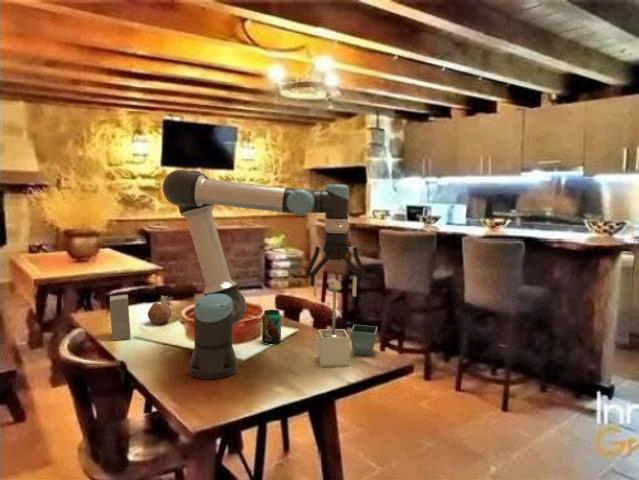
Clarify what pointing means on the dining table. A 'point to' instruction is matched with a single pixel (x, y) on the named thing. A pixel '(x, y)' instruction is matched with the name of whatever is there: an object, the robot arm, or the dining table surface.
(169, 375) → the dining table surface
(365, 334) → the flower pot
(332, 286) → the plunger
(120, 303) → the skincare box
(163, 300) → the architectural model
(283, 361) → the dining table surface
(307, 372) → the dining table surface
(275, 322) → the beverage can
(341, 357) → the cream square planter
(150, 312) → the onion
